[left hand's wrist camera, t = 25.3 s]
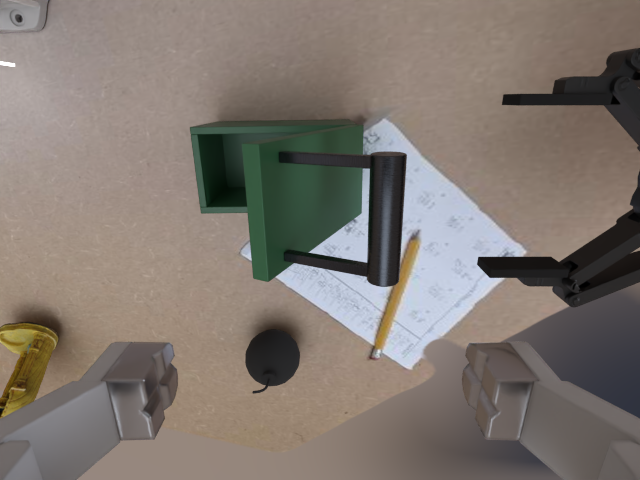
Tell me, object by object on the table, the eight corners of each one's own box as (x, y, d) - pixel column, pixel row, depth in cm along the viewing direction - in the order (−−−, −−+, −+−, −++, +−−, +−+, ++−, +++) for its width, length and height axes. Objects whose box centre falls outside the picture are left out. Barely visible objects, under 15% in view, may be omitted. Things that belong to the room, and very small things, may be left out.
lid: (252, 278, 26) (386, 308, 22) (241, 143, 23) (394, 149, 19) (350, 212, 41) (440, 222, 37) (351, 124, 38) (450, 125, 34)
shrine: (91, 358, 60) (22, 437, 46) (51, 377, 62) (-29, 459, 47) (43, 301, 57) (-48, 368, 43) (1, 322, 58) (-101, 393, 44)
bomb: (309, 330, 59) (306, 385, 47) (288, 368, 61) (281, 429, 50) (262, 311, 57) (248, 363, 46) (243, 351, 60) (225, 409, 49)
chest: (223, 191, 51) (200, 213, 41) (216, 121, 48) (189, 127, 38) (348, 189, 51) (355, 211, 41) (349, 119, 48) (356, 124, 38)
